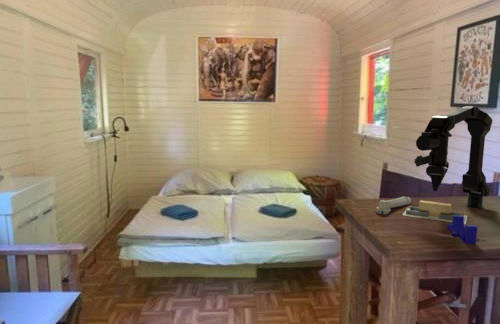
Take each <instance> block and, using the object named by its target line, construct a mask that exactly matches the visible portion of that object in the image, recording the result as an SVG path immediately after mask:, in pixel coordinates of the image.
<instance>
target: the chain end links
mask: <svg viewBox="0 0 500 324" xmlns="http://www.w3.org/2000/svg"><path fill="white" fill-rule="evenodd" d="M407 208H408V210H406V209H405V210H406V214H411V215H418V216H425V217H428V212H421V211H419V206H411V205H408V207H407ZM453 215H459V216H463V217H464V215H465V213H464V212H458V211H457V212H456V211H451V214H450V215H443V214H440V215H439V219H446V220H452V218H453Z"/></svg>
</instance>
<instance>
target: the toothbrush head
mask: <svg viewBox="0 0 500 324" xmlns="http://www.w3.org/2000/svg"><path fill="white" fill-rule="evenodd" d="M412 201H413V200H412V198H411V197H409V196H404V195H403V196H401V197H397V198H393V199H389V200H384V199H381V200H380V201H379V202H378V206H377V207H376V213H377V214H379V215H388V214H390V212H391V211H392V210H391V209H393V208H399V207H404V206H407V205H408V206H410V204H412Z"/></svg>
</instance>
